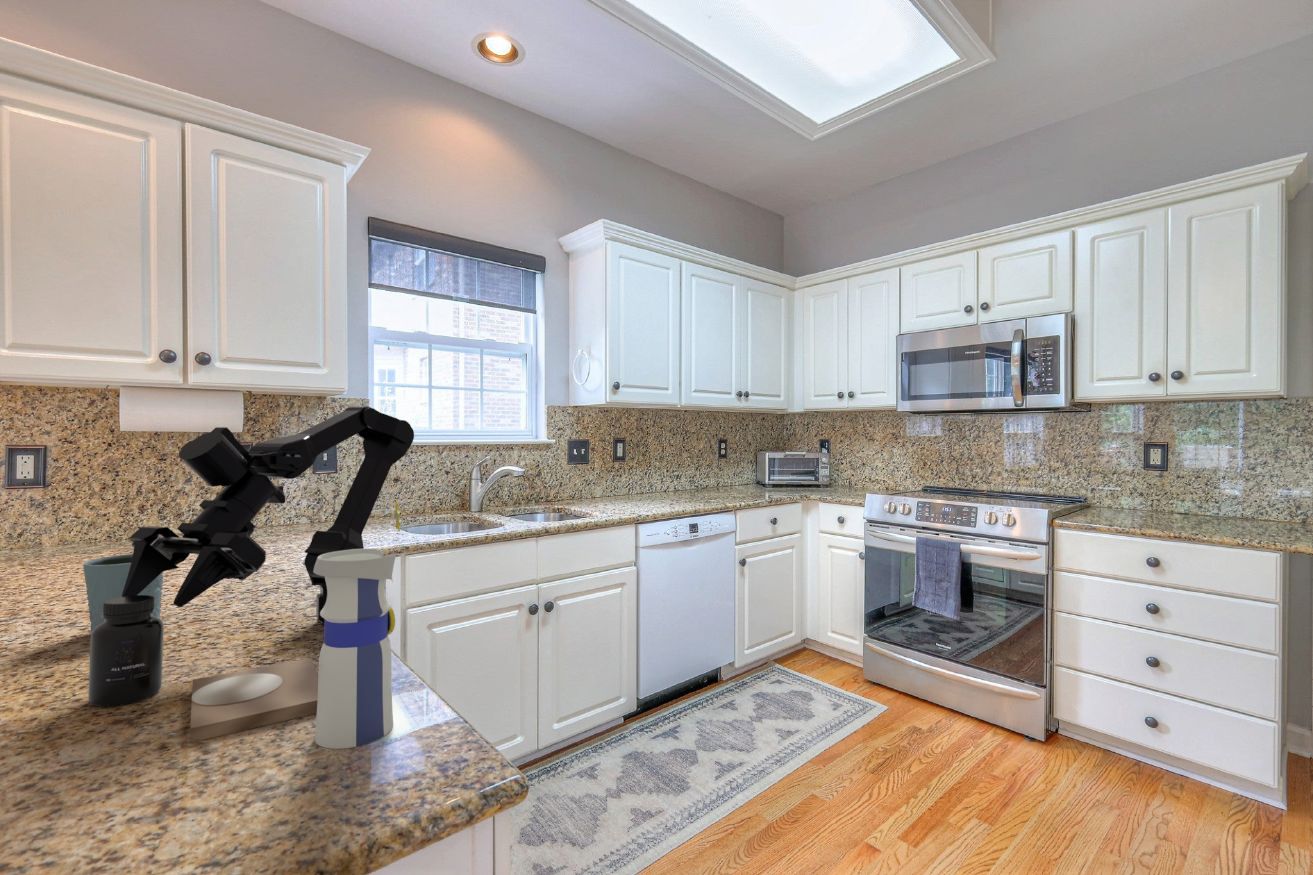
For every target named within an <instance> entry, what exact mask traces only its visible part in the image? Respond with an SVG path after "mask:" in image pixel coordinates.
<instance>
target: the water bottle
mask: <svg viewBox="0 0 1313 875" xmlns="http://www.w3.org/2000/svg"><path fill="white" fill-rule="evenodd" d="M394 505H395V507H394V508H395V510H394V512H393V513H394V517H395V529H396V530H397V531H398V532H400V530H401V527H400V526H401V525H400V515H401V514H400V512H399V507H398V506H399V505H398V502H397V501H395V504H394ZM396 557H397V555H396V553H391V554H388V555H385V554H384V552H383V551H382V550H380V549H377V548H364V549H351V550H342V551H335V552H329V553H325V554H322V555H320V556H318V558H317V561H316V563H315V566H314V570H313V572H314V573H315V574H317V575H320V576H325V580H326V585H327V600H326V603H325V606H324V607H323V609H322V610H321V612H320V615H321V617H323V618H324V626H323V627H324V629H323V631H324V632H323V633H324V635H323V637H324V638H323V640H324V641H323V644H322V646H321V650H320V652H319V657H318V658H319V659H318V670H317V672H318V701H317V713H316V715H315V716H316V717H315V718H316V719H315V731H314V742H315V744H316V745H318V746H320V747H322V748H325V749H332V750H333V749H334V750H335V749H336V750H339V749H343V750H344V749H350V748H357V747H360V746H364V745H367V744H371V743H374V742H375V741H376V742H377V741H378V740H379V739H381V738H383V737H385V736H386V735H387V734H389V733H390V732H391V730H392V729H393V727H394V714H393V712H394V711H393V694H392V693H393V691H392V690H393V689H392V687H393V685H392V645H391V640H390V638H389V635H391V634H392V633H393V632H394V630H395V627H396V615H395V612H394V609H393V608H392V607H393V606H392V604H391V602H390V601H389V600H388V597H387V594H386V582H387V580H391V581H392V583H394V581H393V573H394V565H395V561H396Z"/></svg>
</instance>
